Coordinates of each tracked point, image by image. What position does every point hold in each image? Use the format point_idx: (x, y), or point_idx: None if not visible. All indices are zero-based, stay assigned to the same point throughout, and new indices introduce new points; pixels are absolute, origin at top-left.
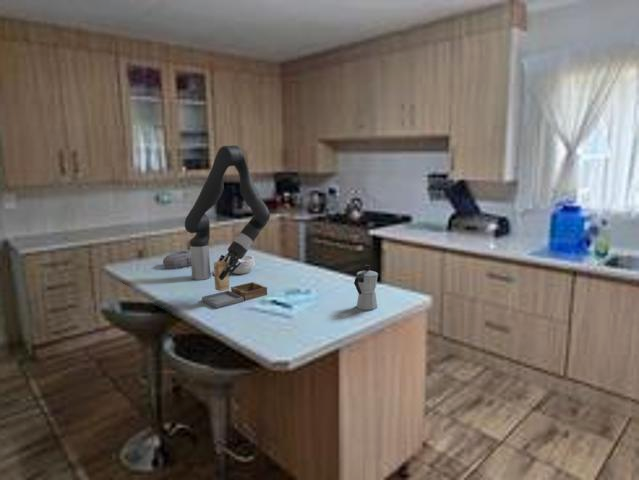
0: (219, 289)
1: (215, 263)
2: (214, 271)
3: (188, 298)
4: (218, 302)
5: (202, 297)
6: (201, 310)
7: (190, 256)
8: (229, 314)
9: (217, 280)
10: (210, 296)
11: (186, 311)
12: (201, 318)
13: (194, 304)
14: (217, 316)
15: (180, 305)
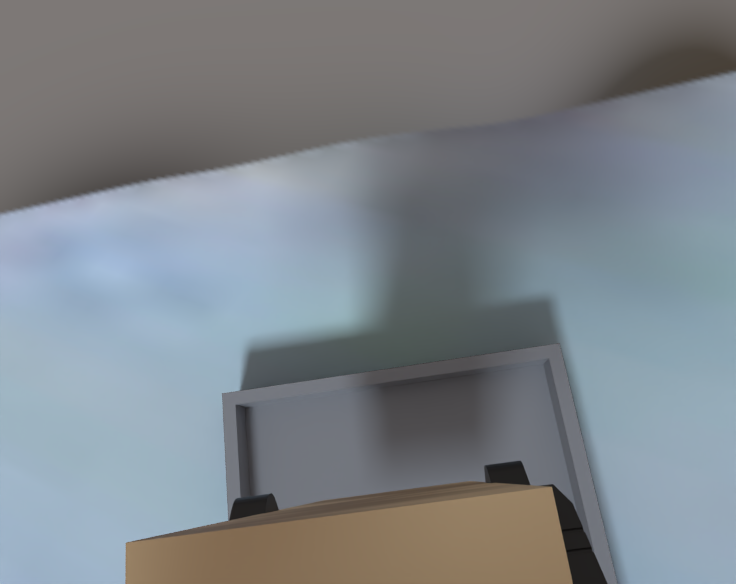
0: (340, 498)
1: (377, 507)
2: (481, 486)
3: (721, 263)
4: (350, 466)
5: (543, 346)
6: (289, 268)
7: None
8: (29, 444)
9: (371, 496)
10: (566, 451)
11: (345, 158)
12: (113, 214)
13: (490, 262)
14: (62, 335)
15: (533, 151)
